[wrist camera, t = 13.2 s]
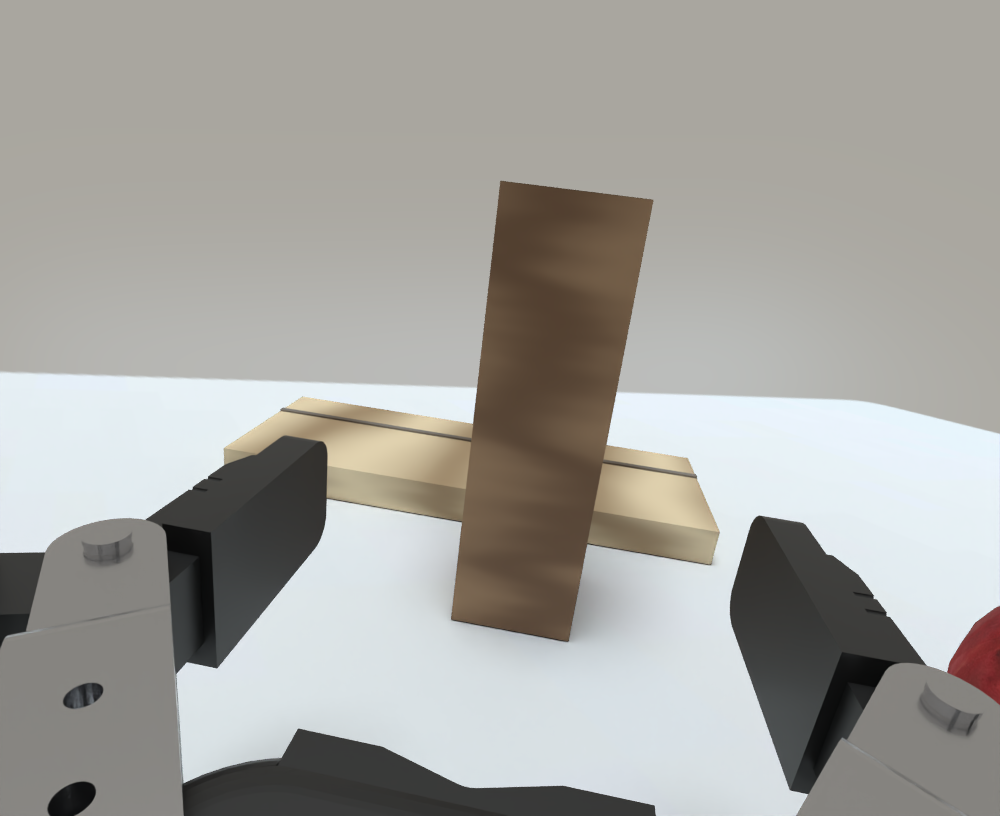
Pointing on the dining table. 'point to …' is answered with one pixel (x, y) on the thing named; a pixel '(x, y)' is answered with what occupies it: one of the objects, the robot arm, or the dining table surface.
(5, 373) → the dining table surface
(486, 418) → the block
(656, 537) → the board
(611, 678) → the dining table surface
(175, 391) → the dining table surface
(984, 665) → the onion
